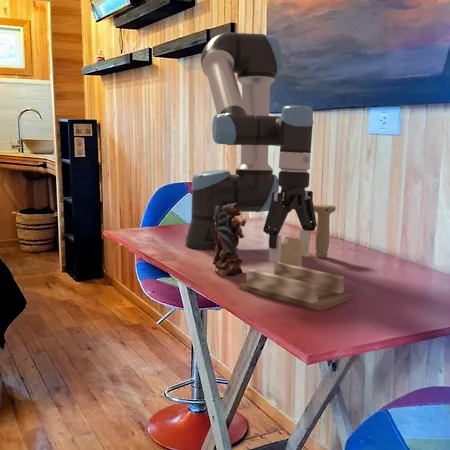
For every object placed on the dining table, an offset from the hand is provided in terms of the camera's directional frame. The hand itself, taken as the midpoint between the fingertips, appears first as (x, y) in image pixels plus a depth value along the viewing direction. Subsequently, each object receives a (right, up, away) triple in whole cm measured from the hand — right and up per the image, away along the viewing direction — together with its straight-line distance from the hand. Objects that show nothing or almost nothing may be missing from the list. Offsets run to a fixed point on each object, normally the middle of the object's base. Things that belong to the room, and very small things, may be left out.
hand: (289, 258), depth 140 cm
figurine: (-15, -4, +4) cm, 16 cm away
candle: (0, -5, +1) cm, 5 cm away
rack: (-1, -7, -14) cm, 16 cm away
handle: (+12, -1, +24) cm, 27 cm away
